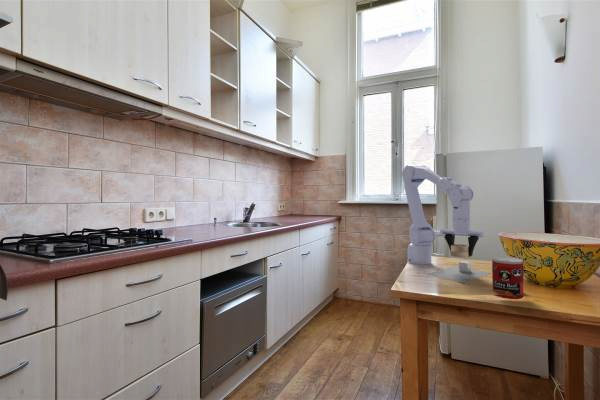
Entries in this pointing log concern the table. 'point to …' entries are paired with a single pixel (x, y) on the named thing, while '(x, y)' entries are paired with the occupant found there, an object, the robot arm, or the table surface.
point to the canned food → (507, 277)
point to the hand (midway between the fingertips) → (461, 254)
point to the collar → (460, 250)
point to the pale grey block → (465, 266)
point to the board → (458, 274)
